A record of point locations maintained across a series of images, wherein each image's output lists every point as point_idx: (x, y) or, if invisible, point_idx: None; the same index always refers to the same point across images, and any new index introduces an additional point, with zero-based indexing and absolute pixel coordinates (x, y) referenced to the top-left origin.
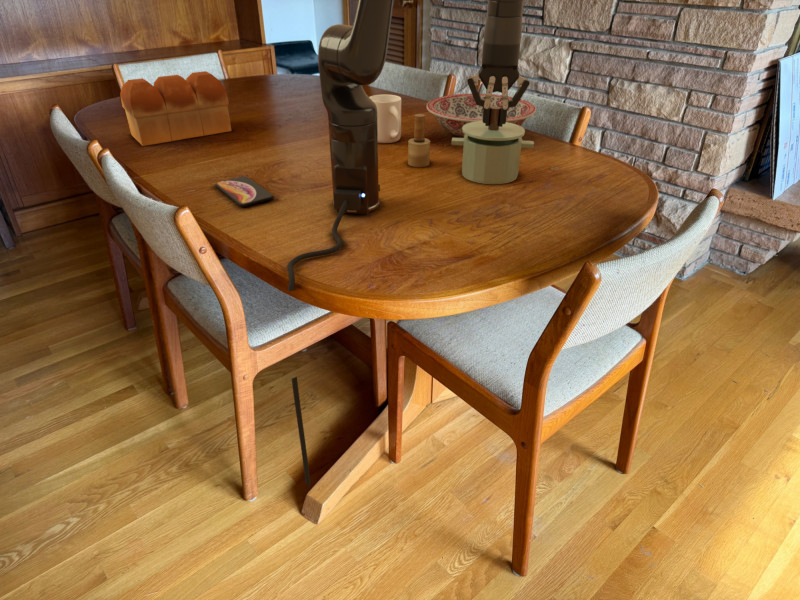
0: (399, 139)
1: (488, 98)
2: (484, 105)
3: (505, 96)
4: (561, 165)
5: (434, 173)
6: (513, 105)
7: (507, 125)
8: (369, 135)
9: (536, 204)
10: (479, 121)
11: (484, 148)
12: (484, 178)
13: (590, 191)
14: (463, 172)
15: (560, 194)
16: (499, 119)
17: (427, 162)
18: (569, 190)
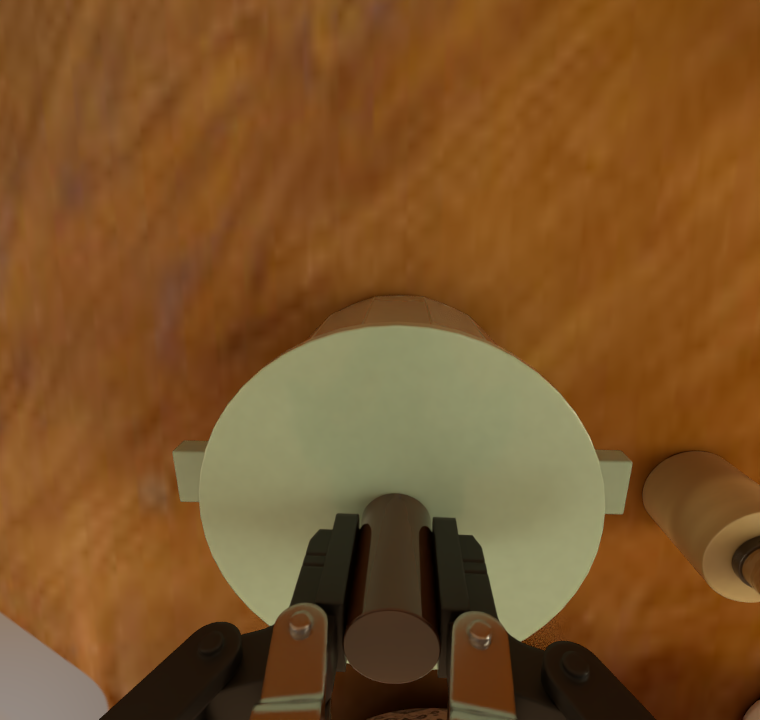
0: (744, 717)
1: (480, 709)
2: (502, 638)
3: (279, 717)
4: (134, 522)
5: (629, 390)
6: (219, 633)
7: None
8: None
9: (199, 84)
10: None
11: None
12: (423, 298)
13: (5, 272)
14: None
15: (113, 221)
16: (356, 558)
17: (661, 476)
18: (83, 271)
